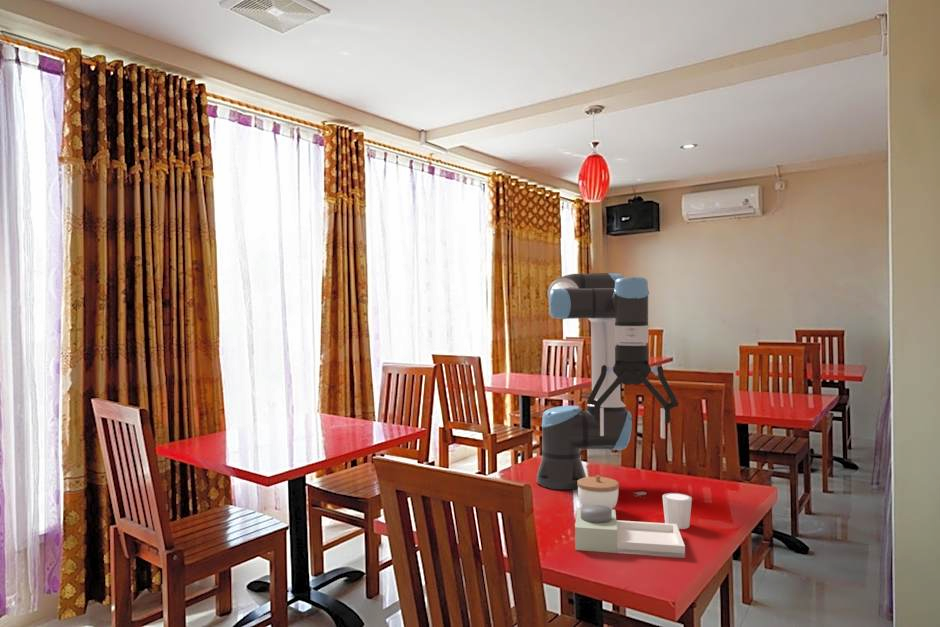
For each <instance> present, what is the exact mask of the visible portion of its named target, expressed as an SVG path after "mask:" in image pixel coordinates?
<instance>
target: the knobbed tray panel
mask: <svg viewBox="0 0 940 627" xmlns="http://www.w3.org/2000/svg"><path fill="white" fill-rule="evenodd" d="M616 513H617V512H616V509H612V510H611V509H610V508H609V507H606V506H602V505H585V506H582V505H581V507H576V514H575V524H574V532H575V533H574V536H575V537H574V541H575V542H574V546H575V548H574V550H575V551H583V552H585V551H587V552H598V553H614V554H625V555H627V554H628V555H639V556H653V557H665V558H680V559H685V558H686V545H685V542H684V540H683V537H682V535H681V532H680V529H678V527H677V524H668V523H665V522H652V521H651V522H650V521H649V522H648V521H633V520H632V521H631V520H618V519H617V515H616Z"/></svg>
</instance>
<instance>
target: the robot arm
mask: <svg viewBox="0 0 940 627" xmlns="http://www.w3.org/2000/svg"><path fill="white" fill-rule="evenodd" d="M648 282H649V281H648V280H647V278H645V277H638V276H637V277H633V276H632V277H624V275H623V274H621V273H611V272H602V273H600V272H599V273H595V272H594V273H571V274H567V275H564V276H560V277H558V278H556V279H555V280H553V281H552V282H551V283H550V284H549V286H548V288H547V294H546V295H547V299H548V302H549V303H548V305H549V306H548V307H549V316H550V317H551V318H552V319H559V320H560V319H561V320H567V319H569V320H571V319H588V320H589V322H590V333H591V334H590V337H591V338H590V348H591V349H590V350H591V351H590V353H591V356H590V357H591V360H590V362H591V393H590V394H589V395H588V398H587V400H586V403H587V405H586V410H582V409H581V407H580V406H579V405H564V406H563V405H561V406H560V405H559V406H555V407H552V408H548V409H546V410H545V411H543V413H542V416H541V418H542V420H541V421H542V422H541V427H542V428H541V430H542V431H541V432H542V434H541V435H542V438H541V439H542V440H541V443H542V444H541V445H542V446H541V447H542V448H541V449H542V450H541V454H542V456H541V461H540V464H539V467H538V470H537V473H536V483H537V482H538V483H539V484H540V485H542V486H541V487H543V486H545V487H544V488H546V487H547V489H552V490H565V491H566V490H567V491H568V490H569V491H570V490H578V485H577V481H578V480H579V479H581V478H585V477H587V474H586V472H585V468H584V466H583V463H582V458H581V450H586V451H587V450H589V451H590V450H592V451H593V450H594V451H595V450H596V451H597V450H600V451H602V450H603V451H607V450H608V451H612V452H613V451H617V450H619V451H620V450H625V449H626V448H627V447H628V445H629V443H630V440H631V435H632V426H633V423H632V422H633V421H632V419H633V418H632V413H631V412H630V411H629V410H627V407H626V406H627V405H626V404H625V403H624V402H623V401H622V400H621V384H623V385H624V386H625V385H626V386H630V385H634V386H640V385H641V384H643V385H644V386H645V387H646V388H647V389H648V391H649V392H651V394H652V396H654V398H656V400H657V401H658V402H659V403H660V404H661V405H662V407H660V438H661V439H662V440H663V439H664V440H665V439H666V424H670V422H671V410H672V409H674V408H676V407H679V402H678V400H677V398H676V396H675V394H674V392H673V391H672V388H671V387H670V385H669V383H668V381H667V379H666V377H665V373H664V368H663V366H662V365H660V364H658V365H656V366H650V363H649V362H650V361H649V356H650V355H649V354H650V353H649V349H650V348H649V346H648V345H647V344H648V343H649V295H650V291H649V284H648ZM651 372H652V373H653V374H654V375H655V376H657V377H658V380H659V382H660V383H661V385H662V387H663V388H664V391H665V393H666V394H667V396H668V399H669V402H668V401H667V400H666V398H664V397H663V395H662V394H661V393H660V392H659V391H658V390H657V389H656V387H655V386H654V385H653V384H652V382H650V381H649V379H648V378H647V377H648V376H649V375H650V373H651ZM540 485H539V486H540Z"/></svg>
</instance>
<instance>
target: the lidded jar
mask: <svg viewBox="0 0 940 627" xmlns="http://www.w3.org/2000/svg"><path fill="white" fill-rule="evenodd" d="M577 485H578V489H577V494H578V498H579V503H580V504H581V507H582V506H585V505H602V506H606V507H609V508H610V509H611V510H614V508H615V507H616V505H617V503H618V500H619V499H618V498H619V488H620V483H619V481H617V480H616V479H613V478H609V477H604V476H601V475H600V474H597V475H595V476H586V477H585V478H581V479H579V480H578V481H577Z"/></svg>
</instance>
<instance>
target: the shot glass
mask: <svg viewBox="0 0 940 627" xmlns="http://www.w3.org/2000/svg"><path fill="white" fill-rule="evenodd" d="M661 497H662V505H663V506H662V507H663V515H664V523H668V524H677V527H678V529H679V530H685V529H688V528H690V523H691V515H692V514H691V512H692V511H691V510H692V501H693V498H692V496H690V495H688V494H684V493H678V492H669V493H664V494H662V496H661Z"/></svg>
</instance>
